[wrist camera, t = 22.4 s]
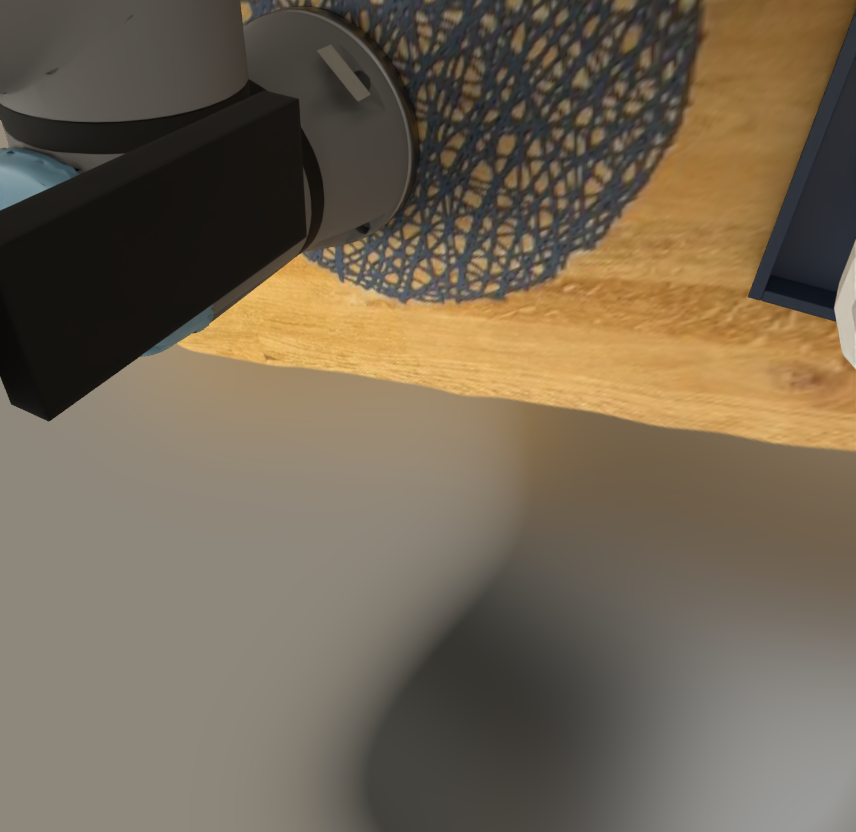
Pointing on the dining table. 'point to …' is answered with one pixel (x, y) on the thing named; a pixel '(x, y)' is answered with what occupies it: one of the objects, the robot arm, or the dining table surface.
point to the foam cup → (847, 309)
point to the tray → (817, 205)
